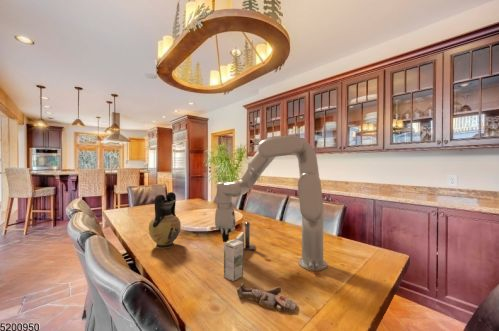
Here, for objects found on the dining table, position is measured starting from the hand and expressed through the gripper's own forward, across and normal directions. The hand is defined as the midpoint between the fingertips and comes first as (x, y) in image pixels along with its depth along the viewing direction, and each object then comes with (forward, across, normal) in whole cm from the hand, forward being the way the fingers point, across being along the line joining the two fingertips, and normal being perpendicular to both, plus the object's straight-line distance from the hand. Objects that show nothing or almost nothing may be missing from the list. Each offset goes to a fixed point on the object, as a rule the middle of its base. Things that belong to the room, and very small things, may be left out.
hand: (225, 241), depth 117 cm
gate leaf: (+6, -6, -2) cm, 9 cm away
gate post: (+7, -9, -11) cm, 16 cm away
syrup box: (+7, -13, +20) cm, 25 cm away
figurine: (+8, -31, +31) cm, 45 cm away
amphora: (+6, +38, +2) cm, 38 cm away
